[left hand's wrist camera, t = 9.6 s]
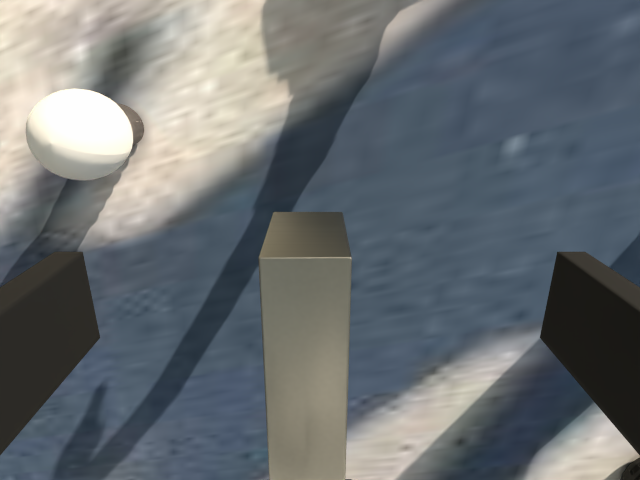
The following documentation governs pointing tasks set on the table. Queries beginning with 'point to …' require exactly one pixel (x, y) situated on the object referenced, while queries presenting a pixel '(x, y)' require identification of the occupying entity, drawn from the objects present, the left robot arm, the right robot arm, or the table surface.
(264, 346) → the bar
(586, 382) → the left robot arm
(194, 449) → the table surface
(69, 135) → the light bulb
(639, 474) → the headphones
